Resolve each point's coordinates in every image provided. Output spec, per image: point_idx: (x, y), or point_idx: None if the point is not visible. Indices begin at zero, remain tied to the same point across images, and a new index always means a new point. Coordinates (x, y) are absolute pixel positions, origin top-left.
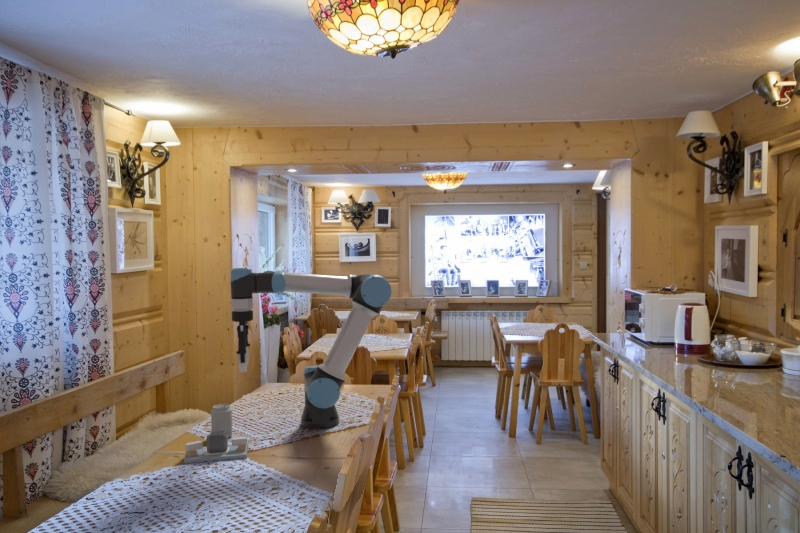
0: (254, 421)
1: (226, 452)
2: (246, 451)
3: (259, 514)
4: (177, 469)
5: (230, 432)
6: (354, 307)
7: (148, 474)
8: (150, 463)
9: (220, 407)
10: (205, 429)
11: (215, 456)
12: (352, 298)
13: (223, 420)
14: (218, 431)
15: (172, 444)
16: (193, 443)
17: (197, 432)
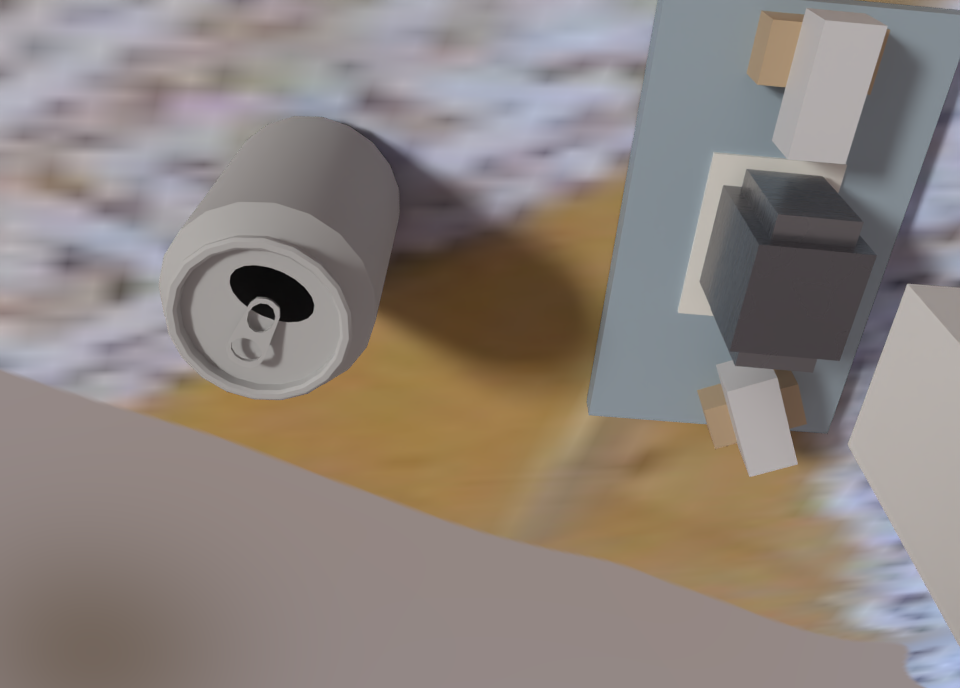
0: None
1: (840, 176)
2: (895, 12)
3: None
4: None
5: (355, 142)
6: None
7: (893, 565)
8: (710, 570)
9: (266, 324)
10: (68, 314)
11: (874, 251)
12: None
13: (382, 249)
14: (749, 293)
15: (388, 493)
16: (776, 431)
17: (141, 364)
